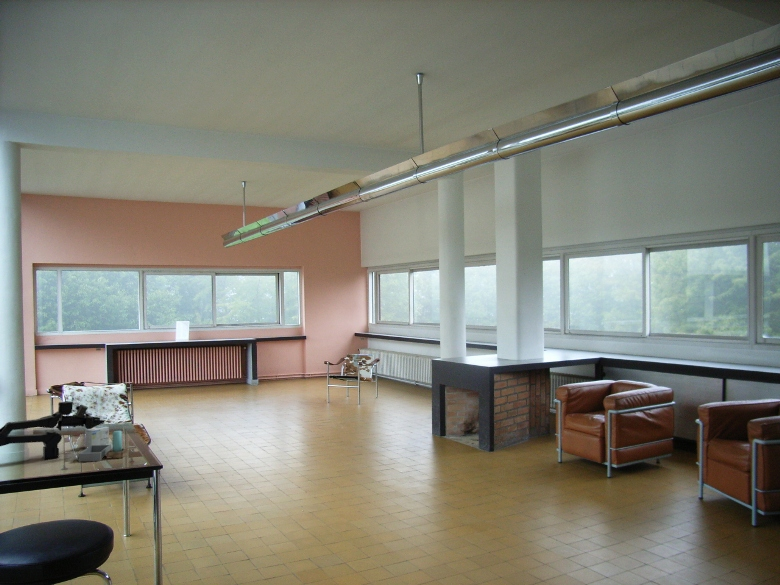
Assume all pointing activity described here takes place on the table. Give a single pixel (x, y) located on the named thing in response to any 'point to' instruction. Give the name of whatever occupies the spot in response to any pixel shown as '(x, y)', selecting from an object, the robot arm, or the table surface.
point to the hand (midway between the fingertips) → (102, 420)
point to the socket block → (117, 453)
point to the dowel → (117, 441)
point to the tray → (94, 453)
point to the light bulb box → (97, 436)
